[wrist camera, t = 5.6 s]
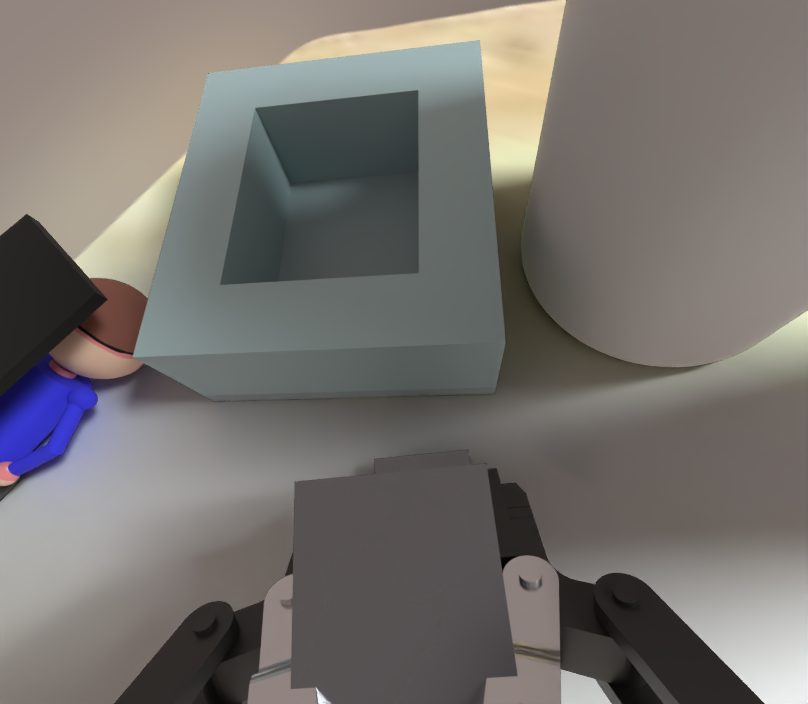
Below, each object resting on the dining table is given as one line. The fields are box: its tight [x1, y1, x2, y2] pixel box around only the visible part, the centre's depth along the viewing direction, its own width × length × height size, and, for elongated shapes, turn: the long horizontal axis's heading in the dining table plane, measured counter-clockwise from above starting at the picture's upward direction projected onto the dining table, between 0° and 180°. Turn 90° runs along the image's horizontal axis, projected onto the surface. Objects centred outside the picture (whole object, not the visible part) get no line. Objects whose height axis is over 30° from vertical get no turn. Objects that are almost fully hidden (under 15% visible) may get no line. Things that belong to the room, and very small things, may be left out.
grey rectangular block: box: [291, 450, 518, 704], centre depth 14 cm, size 6×4×11 cm, turn 4°
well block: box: [133, 40, 506, 401], centre depth 22 cm, size 14×16×6 cm
